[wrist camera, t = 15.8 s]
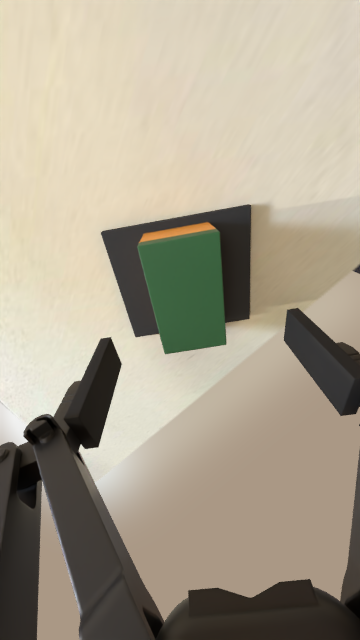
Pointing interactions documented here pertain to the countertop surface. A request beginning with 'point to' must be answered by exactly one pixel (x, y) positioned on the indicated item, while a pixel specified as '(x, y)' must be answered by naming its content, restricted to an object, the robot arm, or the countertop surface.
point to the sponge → (185, 286)
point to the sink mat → (226, 221)
